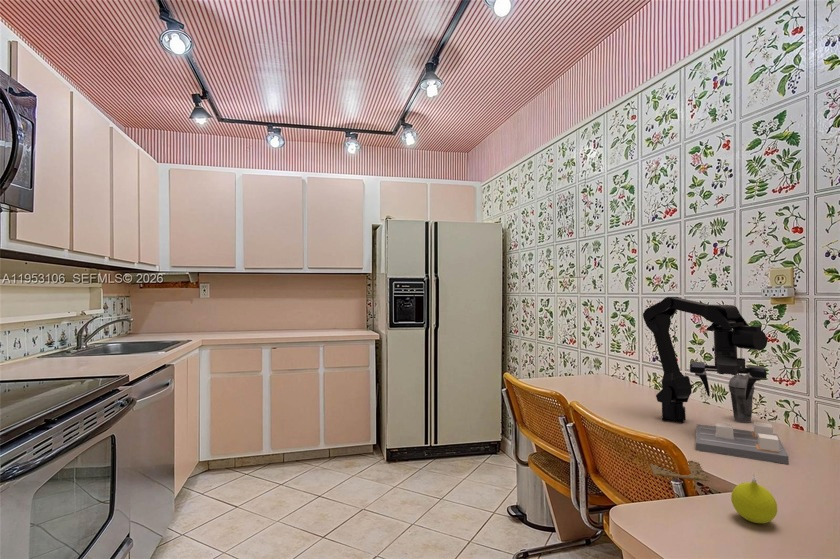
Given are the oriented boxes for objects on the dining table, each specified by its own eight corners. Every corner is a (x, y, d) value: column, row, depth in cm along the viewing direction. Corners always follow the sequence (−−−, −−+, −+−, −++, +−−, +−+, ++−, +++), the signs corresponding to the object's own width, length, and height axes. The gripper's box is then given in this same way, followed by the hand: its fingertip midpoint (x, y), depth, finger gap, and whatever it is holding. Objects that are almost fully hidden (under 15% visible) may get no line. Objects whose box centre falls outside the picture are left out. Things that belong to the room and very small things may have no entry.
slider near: (760, 448, 115) (759, 437, 115) (758, 444, 118) (757, 433, 118) (779, 451, 113) (778, 440, 113) (777, 447, 116) (776, 435, 116)
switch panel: (695, 450, 121) (695, 442, 121) (696, 430, 138) (696, 423, 138) (788, 464, 110) (788, 455, 110) (777, 441, 127) (777, 433, 127)
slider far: (755, 436, 125) (754, 425, 125) (754, 432, 128) (753, 422, 129) (773, 438, 123) (772, 427, 123) (771, 434, 126) (770, 424, 126)
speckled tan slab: (646, 458, 117) (646, 454, 117) (699, 464, 112) (699, 460, 113) (652, 476, 106) (652, 472, 106) (710, 483, 101) (710, 479, 101)
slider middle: (716, 436, 125) (716, 426, 125) (716, 432, 129) (715, 422, 129) (733, 438, 123) (733, 428, 123) (732, 434, 126) (732, 424, 127)
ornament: (753, 532, 80) (751, 477, 80) (723, 513, 87) (721, 463, 87) (788, 529, 81) (786, 475, 81) (755, 510, 88) (753, 461, 88)
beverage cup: (761, 424, 142) (758, 363, 143) (736, 423, 144) (733, 363, 145) (749, 418, 150) (746, 360, 150) (725, 417, 151) (723, 360, 152)
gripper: (688, 347, 130) (690, 400, 129) (767, 351, 120) (770, 408, 119) (689, 343, 139) (691, 392, 139) (763, 347, 129) (765, 399, 128)
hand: (727, 398), depth 131 cm, fingers open, 9 cm apart
